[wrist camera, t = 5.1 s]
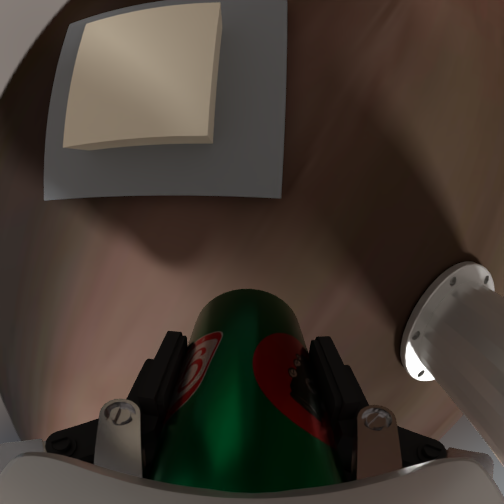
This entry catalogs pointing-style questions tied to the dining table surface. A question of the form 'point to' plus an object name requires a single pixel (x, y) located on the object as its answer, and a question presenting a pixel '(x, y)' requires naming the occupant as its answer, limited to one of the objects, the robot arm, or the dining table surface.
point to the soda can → (247, 404)
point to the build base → (196, 163)
